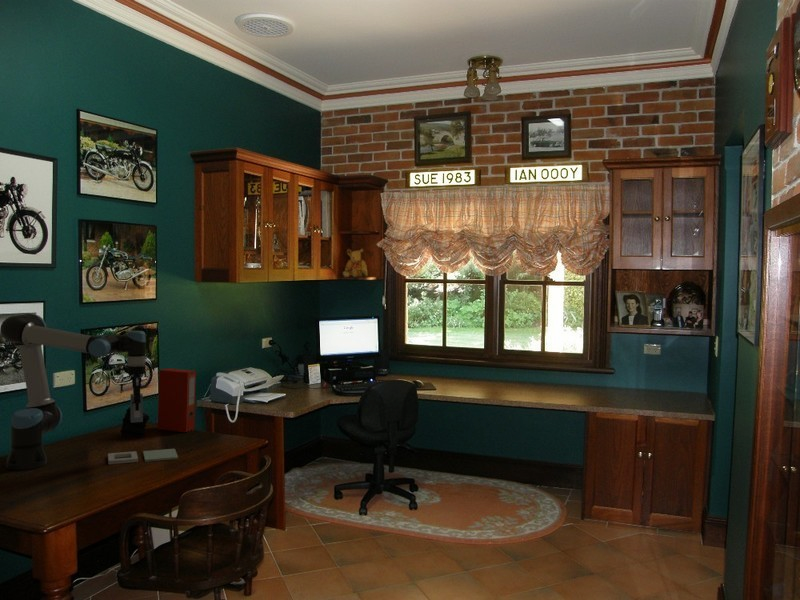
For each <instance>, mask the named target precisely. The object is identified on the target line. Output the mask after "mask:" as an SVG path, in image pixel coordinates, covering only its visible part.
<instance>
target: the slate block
mask: <svg viewBox="0 0 800 600" xmlns="http://www.w3.org/2000/svg"><path fill="white" fill-rule="evenodd" d="M129 395H130V407H131V423H133V422H143V413H144V404H143V403H144V395H143V393H141V392H140V401H141V402H140V417H139V418H134V404H132V402H134V394H133V393H130V394H129Z"/></svg>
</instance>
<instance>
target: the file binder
mask: <svg viewBox="0 0 800 600" xmlns="http://www.w3.org/2000/svg"><path fill="white" fill-rule="evenodd" d="M196 382H197V371H196V370H189V369H178V368H168V367H167V368H163V369H159V370H158V403H157V404H158V405H157V429H158V430H162V431H169V430H170V431H169V432H177V431H178V433H185V432H187V433H189V432H191V431H190V430H192V431H194V430H195V423H196V421H195V420H196V419H195V418H196V415H195V414H196V385H197V383H196ZM188 431H189V432H188Z"/></svg>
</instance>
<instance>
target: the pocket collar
mask: <svg viewBox="0 0 800 600" xmlns="http://www.w3.org/2000/svg"><path fill="white" fill-rule="evenodd" d="M107 461H108V462H107V464H108V465H119V464H127V463H129V464H130V463H138V462H139V457H138V453H137V451H124V452H121V451H120V452H112V453H107Z"/></svg>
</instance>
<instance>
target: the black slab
mask: <svg viewBox="0 0 800 600" xmlns="http://www.w3.org/2000/svg"><path fill="white" fill-rule="evenodd" d="M121 420H122V425H121V429H120V431H119V432H120V433H121V435H120V436H121V437H122V438H144V437H145V434H146V431H145V428H146V427H147V422H148V421H149V420H150V416H149V415H148V414H146V413H144V412H143V422H133V423H131V406H130V407H128V408H127V409H126V410H125V415H124V418H122V419H121Z"/></svg>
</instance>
